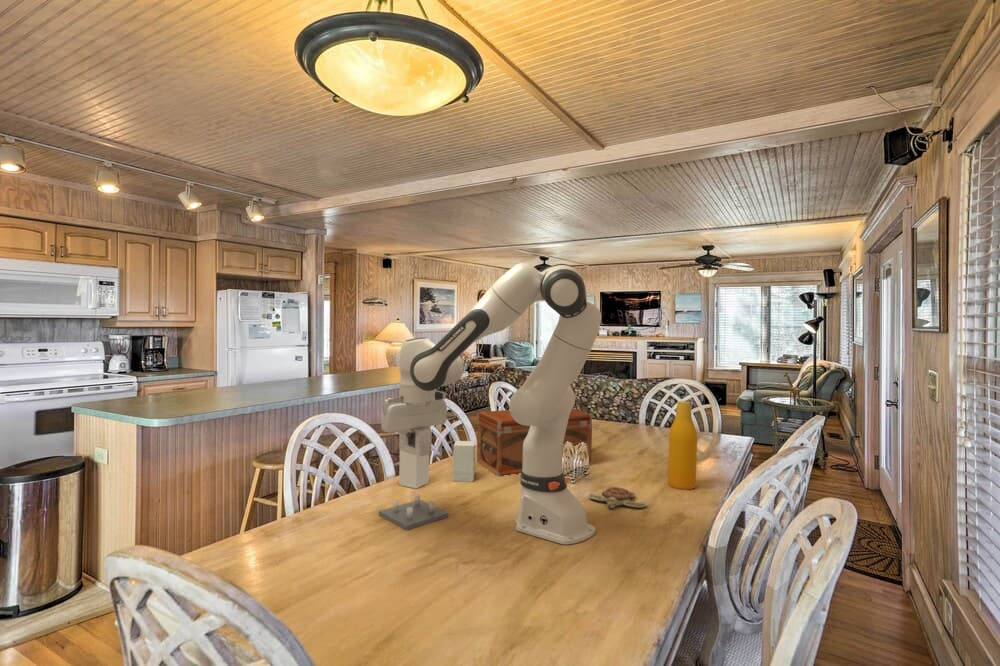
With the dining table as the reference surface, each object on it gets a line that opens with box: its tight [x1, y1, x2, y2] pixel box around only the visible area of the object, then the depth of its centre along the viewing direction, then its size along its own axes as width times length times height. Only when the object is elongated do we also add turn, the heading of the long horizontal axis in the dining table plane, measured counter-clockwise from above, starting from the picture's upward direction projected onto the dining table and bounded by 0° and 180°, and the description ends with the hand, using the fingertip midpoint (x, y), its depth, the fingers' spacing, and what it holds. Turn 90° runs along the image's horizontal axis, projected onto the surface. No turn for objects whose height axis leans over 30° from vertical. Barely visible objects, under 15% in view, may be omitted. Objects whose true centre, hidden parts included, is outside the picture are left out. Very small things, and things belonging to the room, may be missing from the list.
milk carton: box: [398, 450, 430, 489], centre depth 173 cm, size 7×7×19 cm
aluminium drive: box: [398, 427, 432, 457], centre depth 145 cm, size 10×4×7 cm, turn 44°
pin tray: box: [378, 493, 449, 531], centre depth 146 cm, size 14×14×4 cm
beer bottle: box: [667, 400, 698, 490], centre depth 177 cm, size 9×9×29 cm
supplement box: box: [452, 440, 476, 483], centre depth 181 cm, size 7×7×13 cm
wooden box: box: [476, 408, 593, 477], centre depth 201 cm, size 20×41×20 cm, turn 114°
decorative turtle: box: [587, 486, 647, 509], centre depth 160 cm, size 18×17×5 cm
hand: (415, 443), depth 145 cm, fingers closed on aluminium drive, 4 cm apart
